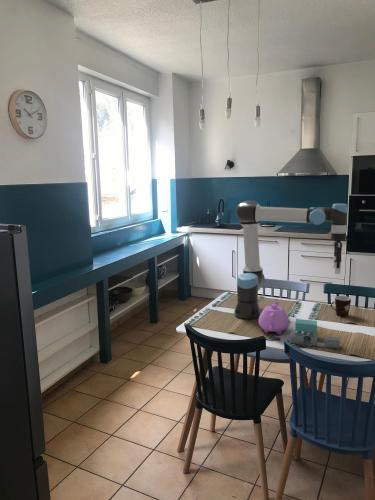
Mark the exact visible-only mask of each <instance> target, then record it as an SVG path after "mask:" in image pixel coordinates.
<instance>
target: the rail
mask: <svg viewBox="0 0 375 500" xmlns="http://www.w3.org/2000/svg"><path fill="white" fill-rule="evenodd" d="M340 341H341V340H340V337H339V336H329V335H324V342H318V335H317V334H314V335H311V338H310V341H309V340H305V334H304V333H302V334H300V333H297V332H290V333H289V343H290V342H291V343H292V344H291V345H297V346H299V345H300V346H309V347H318V348H325V349H335V350H339V349H340V344H341V343H340Z"/></svg>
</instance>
